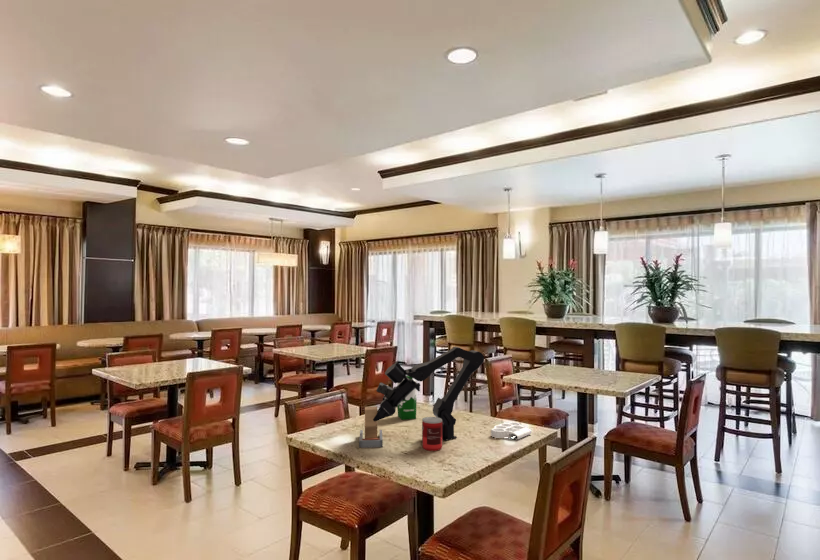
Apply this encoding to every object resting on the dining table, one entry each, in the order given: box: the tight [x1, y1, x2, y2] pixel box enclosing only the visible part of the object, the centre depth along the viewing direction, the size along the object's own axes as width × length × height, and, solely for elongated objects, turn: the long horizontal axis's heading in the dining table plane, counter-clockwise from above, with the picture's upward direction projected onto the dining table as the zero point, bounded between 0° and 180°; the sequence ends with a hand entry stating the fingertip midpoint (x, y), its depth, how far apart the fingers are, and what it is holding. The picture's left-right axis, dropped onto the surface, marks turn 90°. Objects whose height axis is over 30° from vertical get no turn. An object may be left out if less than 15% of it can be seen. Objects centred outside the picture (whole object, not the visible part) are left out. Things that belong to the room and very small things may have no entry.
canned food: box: [421, 416, 443, 452], centre depth 186 cm, size 8×8×11 cm
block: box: [364, 406, 378, 439], centre depth 195 cm, size 5×5×13 cm
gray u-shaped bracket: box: [358, 429, 384, 448], centre depth 194 cm, size 15×9×2 cm, turn 4°
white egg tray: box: [490, 421, 533, 441], centre depth 204 cm, size 3×18×15 cm
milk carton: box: [396, 375, 418, 421], centre depth 232 cm, size 9×9×20 cm
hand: (374, 417), depth 195 cm, fingers open, 9 cm apart
